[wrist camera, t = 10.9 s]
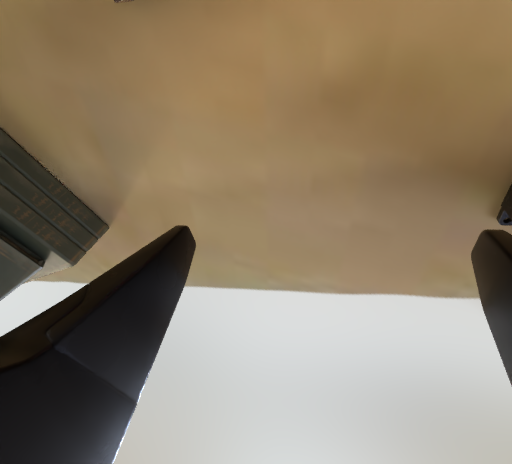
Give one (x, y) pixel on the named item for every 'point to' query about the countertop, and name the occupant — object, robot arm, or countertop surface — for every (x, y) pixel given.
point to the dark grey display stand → (38, 220)
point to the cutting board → (122, 1)
